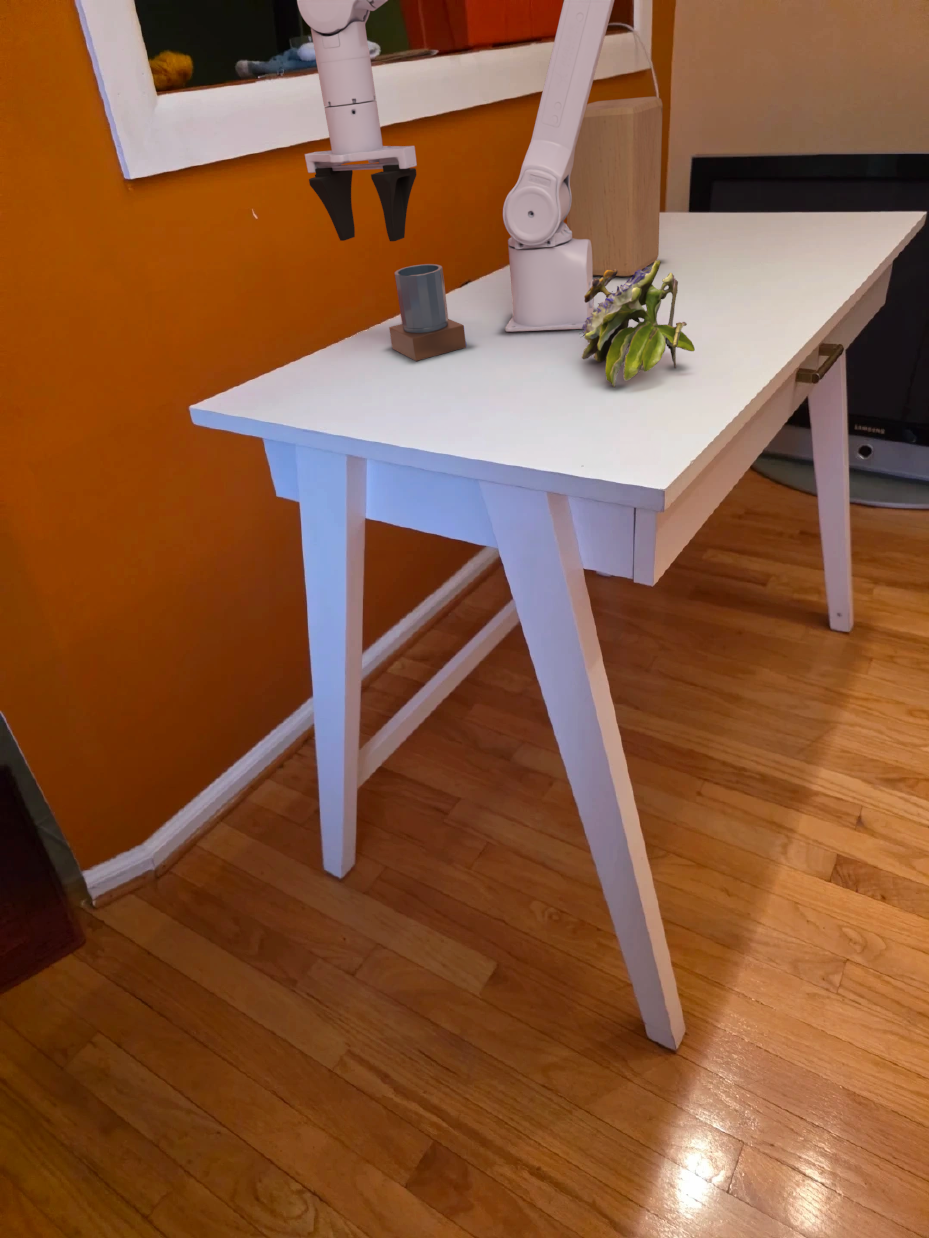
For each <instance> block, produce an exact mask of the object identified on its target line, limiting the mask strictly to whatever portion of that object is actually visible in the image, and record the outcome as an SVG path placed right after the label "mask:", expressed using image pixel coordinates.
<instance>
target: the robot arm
mask: <svg viewBox="0 0 929 1238" xmlns="http://www.w3.org/2000/svg"><path fill="white" fill-rule="evenodd" d="M388 1H389V0H296V3H297V7H298V10H299V13H300V16H301V17H302V19H303V20H304V22H305V23H306V24H307V25H308V26H309V27H310V31H311V37H312V43H313V44H312V45H313V49H314V54H315V62H316V68H317V75H318V79H319V80H318V81H319V85H320V91H321V97H322V102H323V107H324V108H323V109H324V115H325V119H326V126H327V132H328V137H329V142H330V147H331V148H330V149H331V150H323V151H314V152H308V153H304V158H305V164H306V168H307V173H308V174H314V176H313V177H309V179H308V182H309V186H310V187H311V189H313V190H312V191H314V193H315V194H316V196H317V197H318V198H319V199H320V201H321V203H322V204H323V206H324V208H325V210H326V211H327V214H328V215H329V217H330V220H331V222H332V224H333V226H334V229H335V232H336V234H337V236H338V240H339V242H345V241H348V240H351V239H353V238H355V237H356V236H355V235H356V229H355V220H354V212H353V205H352V182H353V174H354V173H353V171H362V170H364V171H365V170H382V171H379V172H375V173H371V174H370V178H371V181H372V183H373V186H374V188H375V190H376V193H377V195H378V198H379V201H380V205H381V208H382V212H383V218H384V225H385V230H386V234H387V237H388V241H389V242H397V241H399V240H402V239H404V238H405V235H406V234H405V233H406V222H407V212H408V206H409V201H410V196H411V193H412V189H413V186H414V184H415V183H414V182H415V180H416V177H417V168H416V167H417V166H418V165H417V164H418V163H417V155H416V147H415V145H405V146H404V145H403V146H402V145H392V146H391V145H383V137H382V131H381V124H380V123H381V122H380V117H379V116H380V115H379V109H378V102H377V96H376V88H375V82H374V81H375V80H374V75H373V68H372V60H371V54H370V49H369V43H368V37H367V30H366V29H367V28H366V23H367V21H368V20H369V16H370V13H371V12H374V11H376V10H377V9H379V8H380V7H381V6H383V5H384V4H385V3H387V2H388ZM614 3H615V0H563V3H562V7H561V10H560V11H561V12H560V15H559V19H558V25H557V29H556V33H555V37H554V41H553V45H552V49H551V54H550V58H549V63H548V66H547V71H546V76H545V78H544V79H545V80H544V84H543V89H542V93H541V96H540V101H539V104H538V106H539V107H538V109H537V114H536V118H535V121H534V123H535V124H534V127H533V131H532V136H531V140H530V143H529V146H528V149H527V151H526V153H525V156H524V158H523V162H522V164H521V169H520V173H519V176H518V179H517V180H516V181H517V182H516V183H515V185H514V187H513V188H511V190H510V191H509V192H508V194H507V195H506V197H505V199H504V202H503V206H502V220H503V224H504V227H505V229H506V231H507V232H508V234H509V235H510V237H509V238H508V239H507V244H508V245H507V248H508V261H509V274H510V276H509V277H510V288H511V303H512V316H511V318H510V319H509V321H508V322H507V324H506V325H505V327H504V329H505V332H508V333H509V332H511V333H512V332H529V331H530V332H532V331H533V332H534V331H536V332H537V331H559V330H560V331H561V330H584V329H583V328H582V327H583V324H586V323H585V321H586V319H587V318H588V317H590V316H592V314H591V313H593V312H594V310H595V307H594V306H595V305H594V304H595V297H594V298H593V299H592V300H590V301H589V302H587V303H585V301H584V300H585V298H584V296H585V295H586V294H587V292H588V291H589V289H590V288H591V287H592V282H593V280H594V276H593V272H592V247H591V241H590V240H589V239H573V238H572V231H571V230H569V228H568V226H567V222H565V220H566V219H567V215H568V213H569V211H570V207H571V202H572V195H571V189H570V175H571V171H572V167H573V162H574V153H575V147H576V143H577V139H578V136H579V132H580V128H581V124H582V120H583V117H584V113H585V109H586V105H587V104H588V102H589V97H590V94H591V89H592V86H593V84H594V83H593V82H594V78H595V75H596V72H597V68H598V64H599V60H600V56H601V52H602V48H603V44H604V41H605V37H606V33H607V29H608V26H609V22H610V19H611V15H612V11H613V7H614ZM364 161H368V163H356V162H364ZM353 162H355V163H356V164H355V163H354V164H348V163H353Z"/></svg>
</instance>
